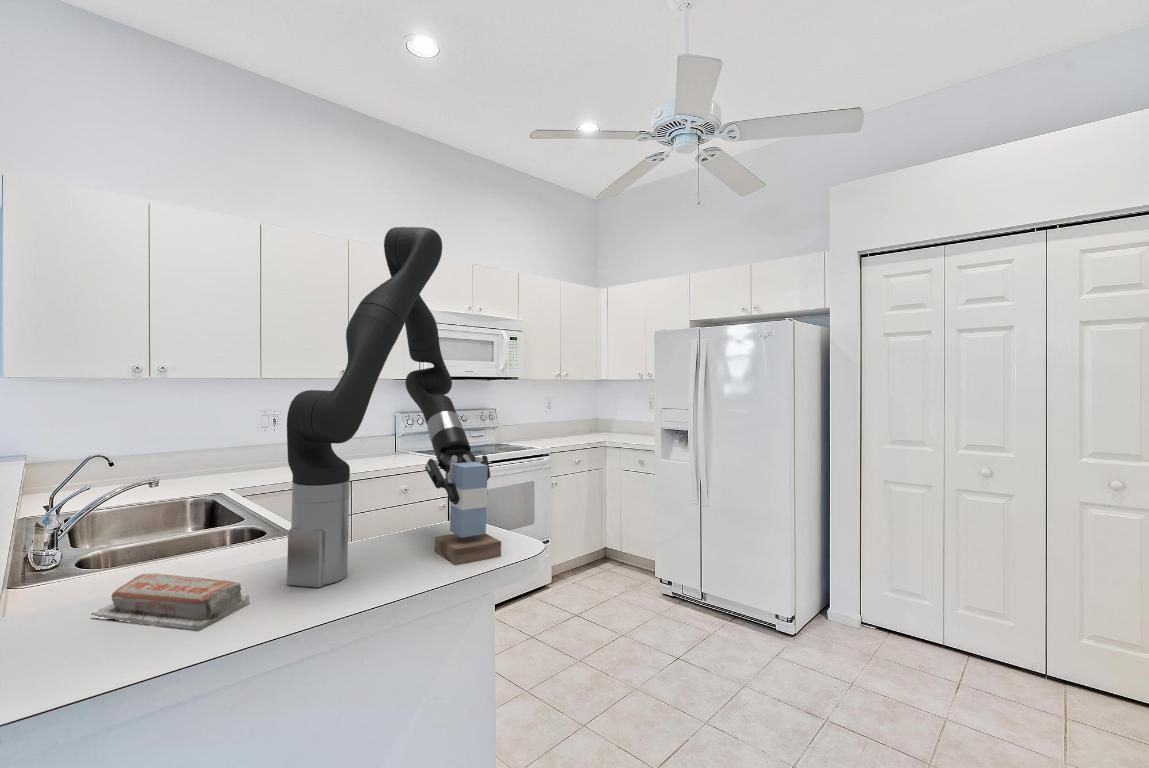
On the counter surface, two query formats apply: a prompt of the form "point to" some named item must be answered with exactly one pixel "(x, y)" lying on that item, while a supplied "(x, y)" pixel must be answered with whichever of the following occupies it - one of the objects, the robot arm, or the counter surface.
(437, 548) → the podium
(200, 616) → the packaged product
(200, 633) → the counter surface
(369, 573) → the counter surface
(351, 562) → the counter surface
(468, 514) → the carton
